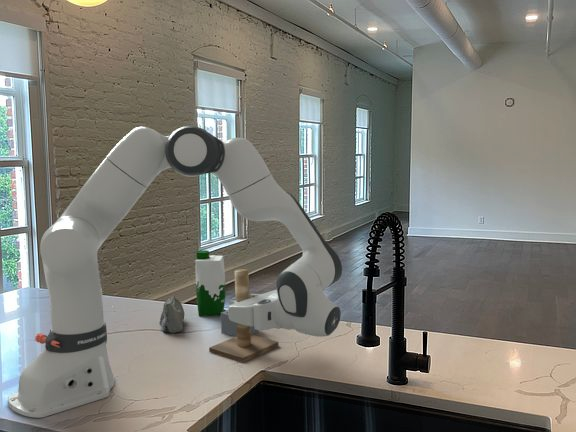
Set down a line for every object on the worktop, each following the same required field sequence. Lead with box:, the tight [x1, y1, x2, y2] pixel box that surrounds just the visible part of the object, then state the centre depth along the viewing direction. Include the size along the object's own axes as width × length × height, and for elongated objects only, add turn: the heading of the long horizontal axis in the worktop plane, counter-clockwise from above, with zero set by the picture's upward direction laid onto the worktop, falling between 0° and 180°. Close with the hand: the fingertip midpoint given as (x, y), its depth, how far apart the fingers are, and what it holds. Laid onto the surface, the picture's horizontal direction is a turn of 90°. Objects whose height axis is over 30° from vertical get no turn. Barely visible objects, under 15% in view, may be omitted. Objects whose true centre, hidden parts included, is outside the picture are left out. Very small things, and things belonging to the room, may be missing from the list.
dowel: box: [234, 268, 251, 347], centre depth 150 cm, size 4×4×20 cm
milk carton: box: [194, 249, 226, 317], centre depth 182 cm, size 9×9×20 cm
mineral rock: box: [159, 294, 185, 334], centre depth 170 cm, size 13×11×10 cm
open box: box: [220, 309, 260, 338], centre depth 165 cm, size 8×8×6 cm
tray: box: [208, 334, 279, 363], centre depth 152 cm, size 14×12×1 cm
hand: (240, 300), depth 151 cm, fingers open, 5 cm apart
